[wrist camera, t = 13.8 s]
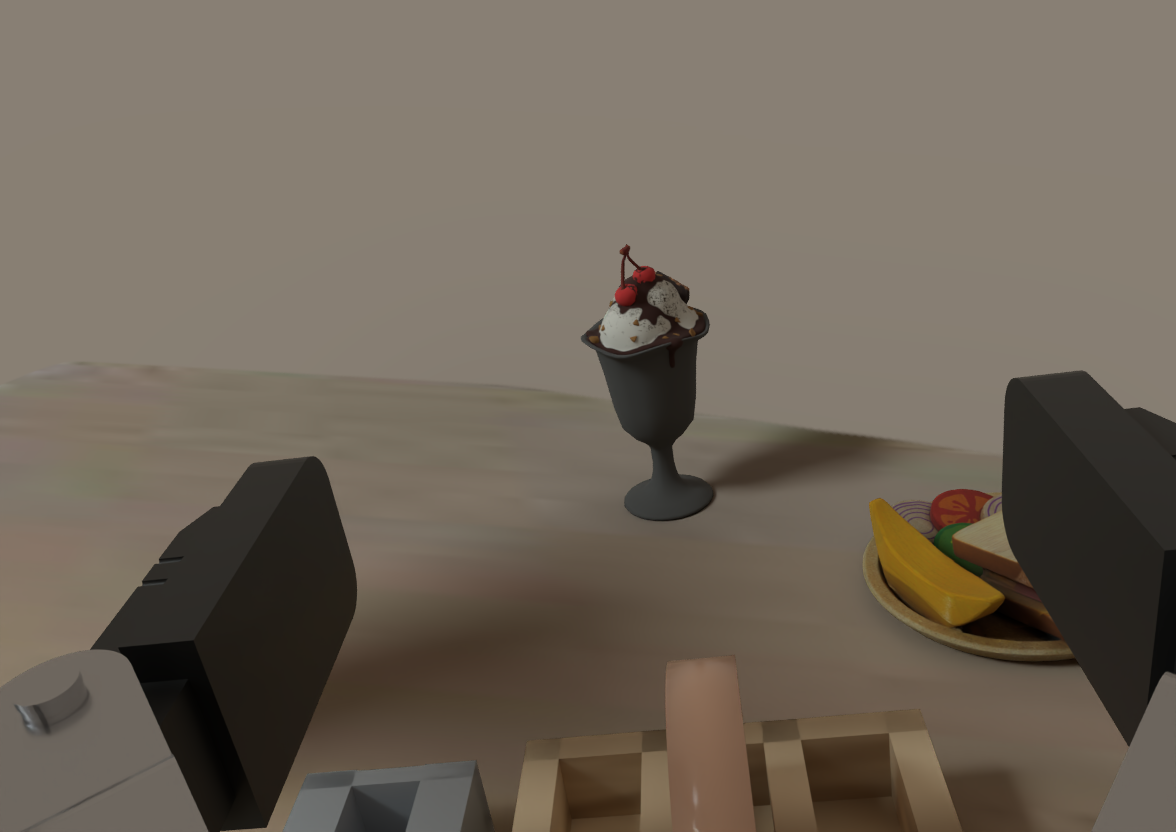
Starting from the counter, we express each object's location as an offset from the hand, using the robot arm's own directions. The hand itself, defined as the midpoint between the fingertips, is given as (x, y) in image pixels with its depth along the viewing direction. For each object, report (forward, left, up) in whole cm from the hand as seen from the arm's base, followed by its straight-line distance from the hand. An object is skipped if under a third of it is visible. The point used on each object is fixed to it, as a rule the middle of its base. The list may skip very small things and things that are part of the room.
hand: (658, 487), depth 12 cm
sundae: (-33, +21, -22) cm, 45 cm away
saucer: (-7, +5, -16) cm, 18 cm away
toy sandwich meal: (-15, +27, -22) cm, 38 cm away
